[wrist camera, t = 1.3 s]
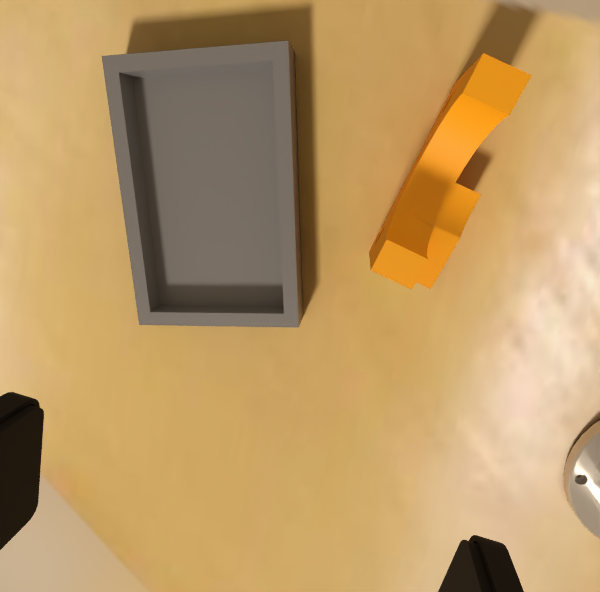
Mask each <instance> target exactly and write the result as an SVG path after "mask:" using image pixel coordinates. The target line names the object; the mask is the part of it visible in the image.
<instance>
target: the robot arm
mask: <svg viewBox="0 0 600 592" xmlns="http://www.w3.org/2000/svg"><path fill="white" fill-rule="evenodd" d="M43 420H44V411H43V409H41V408H40V406H39V402H38V400H36V399H33V398H30V397H27V396H23V395H20V394H17V393H14V392H9V393H6V394H4V395H2V396H0V550H1V549H2V548H3V547H4V546H5V544H7V543H8V541H10V540H11V538H13V537H14V536H15V535H16V534H17V532H19V530H21V528H22V527H23V526H25V525H26V523H27V522H28V521H29V520H30V519H31V518H32V516H33V515H34V513H35V511H36V508H37V505H38V496H39V495H38V494H39V481H40V465H41V450H42V435H43ZM564 490H565V493H566V497H567V500H568V502H569V504H570V506H571V508H572V509H573V511H574V513H575V514H576V516H577V517H578V518H579V520H580V521H581V523H582V524H583V525H584V526H585V527H586V528H587V529H588V530H589V531H590V532H591V533H592V534H593V535H595V536H596V537H598V538H599V539H600V420H599V421H598V422H596V423H595V424H593V425H592V426H591V427H590V428H589V429H588V430H587V431H586V432H585V433H584V434H582V436H581V437H580V438H579V440H578V441H577V442H576V444H575V445H574V446H573V448H572V450H571V452H570V454H569V456H568V458H567V461H566V465H565V470H564ZM438 592H524V591H523V589H522V586H521V583H520V581H519V578H518V576H517V573H516V570H515V568H514V565H513V563H512V560H511V558H510V555H509V552H508V550H507V548H506V546H505V545H504V544H502V543H499V542H496V541H493V540H490V539H486V538H483V537H480V536H477V535H473V536H472V537H471V538H470V540H469V541H467V540H462V541H461V542H460V544H459V546H458V549H457V551H456V553H455V555H454V558H453V560H452V562H451V564H450V567H449V569H448V571H447V573H446V576H445V578H444V580H443V582H442V585H441V587H440V589H439V591H438Z"/></svg>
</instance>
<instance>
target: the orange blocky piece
mask: <svg viewBox="0 0 600 592" xmlns="http://www.w3.org/2000/svg"><path fill="white" fill-rule="evenodd" d="M531 76H532V75H529V74H527V73H525V72H523V71H521V70H519V69H517V68H514V67H512V66H510V65H508V64H506V63H504V62H501V61H499V60H497V59H495V58H493V57H491V56H488V55H486V54H484V53H483V54H482V55H481V56H480V57H479V58H478V59H477V60H476V61H475V62H474V64H473V65H472V66H471V67H470V68H469V69H468V70H467V71H466V72H465V73H464V74H463V75H462V76H461V77H460V78H459V79H458V80H457V81H456V83H455V85H454V87H453V89H452V91H451V93H450V95H449V97H448V99H447V101H446V103H445V105H444V106H443V108H442V110H441V112H440V114H439V116H438V118H437V120H436V122H435V124H434V126H433V128H432V130H431V132H430V134H429V136H428V138H427V140H426V142H425V144H424V146H423V148H422V150H421V152H420V154H419V156H418V157H417V159H416V161H415V163H414V165H413V167H412V169H411V171H410V173H409V175H408V177H407V179H406V181H405V183H404V185H403V187H402V189H401V191H400V193H399V195H398V197H397V199H396V201H395V203H394V205H393V206H392V208H391V210H390V212H389V214H388V216H387V218H386V220H385V222H384V224H383V226H382V228H381V230H380V232H379V234H378V236H377V238H376V240H375V242H374V244H373V246H372V248H371V250H370V252H369V256H370V267H371V270H372V271H374V272H376V273H378V274H380V275H382V276H384V277H386V278H388V279H391V280H393V281H395V282H397V283H399V284H401V285H403V286H405V287H407V288H409V289H412V288H413V286H414V285H415V283H416V282H417V283H419V284H422V285H424V286H426V287H428V288H430V289H431V288H432V286H433V284H434V282H435V281H436V279H437V277H438V276H439V274H440V272H441V270H442V269H443V267H444V265H445V263H446V262H447V260H448V258H449V256H450V255H451V253H452V251H453V249H454V248H455V246H456V244H457V243H458V241H459V239H460V236H461V234H462V231H463V229H464V226H465V224H466V222H467V220H468V218H469V216H470V214H471V212H472V210H473V208H474V206H475V204H476V203H477V201H478V199H479V197H480V196H481V194H479V193H477V192H474V191H472V190H470V189H468V188H466V187H464V186H462V185H460V184H457V183H455V182H456V181H457V179H458V177H459V176H460V174H461V172H462V171H463V169H464V167H465V166H466V164H467V163H468V161H469V160H470V158H471V157H472V155H473V154H474V152H475V151H476V150H477V148H478V147H479V145H480V144H481V143H482V141H483V140H484V139H485V138H486V136H487V135H488V134H489V133H490V132H491V131H492V129H493V128H494V127H495V126H496V125H497V124H498V123H499V122H500V121H502V120H503V119H504V118H505V117H507V116H509V115H510V113H511V111H512V110H513V108H514V106H515V104H516V103H517V101H518V99H519V97H520V95H521V94H522V92H523V90H524V88H525V86H526V85H527V83H528V81H529V79H530V78H531Z"/></svg>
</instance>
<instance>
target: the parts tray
mask: <svg viewBox="0 0 600 592" xmlns="http://www.w3.org/2000/svg"><path fill="white" fill-rule="evenodd" d="M102 61H103V68H104V76H105V83H106V90H107V97H108V104H109V111H110V119H111V126H112V133H113V140H114V147H115V154H116V162H117V169H118V176H119V183H120V190H121V197H122V204H123V212H124V219H125V226H126V233H127V240H128V247H129V255H130V262H131V269H132V276H133V283H134V290H135V298H136V305H137V312H138V319H139V325H179V326H242V327H299V325H300V323H301V320H302V318H303V294H302V264H301V233H300V202H299V171H298V141H297V110H296V79H295V52H294V51H293V49H292V47H291V45H290V43H289V41H276V42H264V43H252V44H240V45H228V46H216V47H204V48H192V49H180V50H169V51H157V52H145V53H133V54H121V55H109V56H102Z"/></svg>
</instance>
